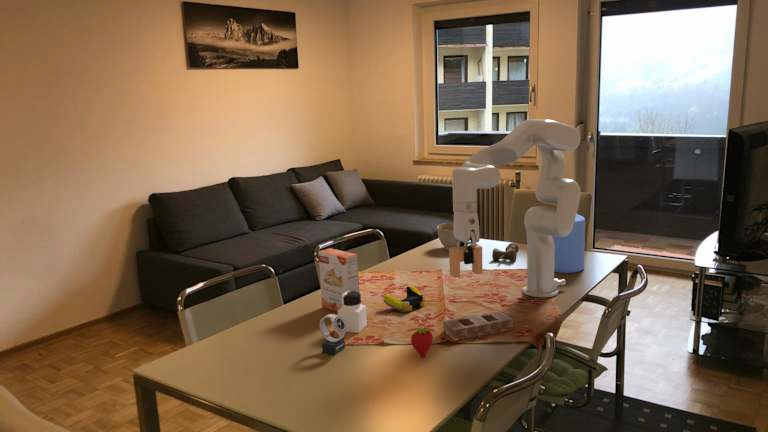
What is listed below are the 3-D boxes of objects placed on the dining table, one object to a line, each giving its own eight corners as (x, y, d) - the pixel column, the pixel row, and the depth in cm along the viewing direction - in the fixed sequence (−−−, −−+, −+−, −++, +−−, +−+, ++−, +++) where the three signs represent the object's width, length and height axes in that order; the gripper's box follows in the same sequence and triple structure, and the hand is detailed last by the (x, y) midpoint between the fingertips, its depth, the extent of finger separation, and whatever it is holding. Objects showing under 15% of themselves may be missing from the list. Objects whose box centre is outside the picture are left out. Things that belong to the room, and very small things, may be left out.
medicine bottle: (367, 325, 201) (365, 290, 199) (359, 333, 195) (357, 297, 192) (346, 323, 204) (344, 288, 201) (338, 331, 197) (336, 295, 195)
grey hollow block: (499, 321, 200) (499, 310, 199) (512, 329, 192) (512, 319, 192) (443, 331, 193) (443, 321, 193) (454, 341, 186) (454, 330, 185)
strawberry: (407, 360, 174) (406, 327, 172) (418, 349, 181) (417, 317, 179) (426, 363, 172) (425, 329, 170) (437, 353, 178) (436, 320, 176)
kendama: (524, 255, 275) (511, 266, 258) (503, 254, 280) (489, 264, 262) (524, 242, 274) (510, 252, 257) (502, 241, 279) (488, 251, 261)
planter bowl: (436, 253, 282) (435, 230, 280) (438, 244, 298) (438, 222, 295) (471, 253, 279) (471, 230, 277) (472, 244, 295) (472, 222, 293)
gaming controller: (381, 309, 215) (402, 316, 208) (380, 294, 214) (401, 300, 207) (410, 298, 225) (431, 304, 218) (410, 283, 224) (431, 289, 217)
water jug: (588, 265, 255) (590, 198, 249) (578, 275, 242) (579, 205, 236) (551, 260, 263) (552, 196, 257) (539, 270, 250) (539, 202, 244)
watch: (340, 356, 179) (338, 320, 177) (317, 351, 183) (315, 316, 180) (350, 349, 184) (348, 314, 181) (328, 344, 188) (325, 310, 185)
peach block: (477, 270, 204) (477, 244, 202) (482, 273, 201) (482, 246, 199) (449, 274, 201) (449, 248, 199) (454, 277, 198) (453, 250, 196)
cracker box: (321, 308, 219) (317, 251, 215) (333, 303, 223) (330, 247, 219) (348, 316, 209) (345, 257, 205) (361, 311, 214) (358, 253, 209)
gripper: (488, 209, 190) (488, 267, 193) (464, 201, 205) (465, 254, 209) (465, 212, 187) (466, 270, 191) (443, 203, 203) (444, 257, 207)
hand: (465, 261), depth 200 cm, fingers closed on peach block, 3 cm apart
